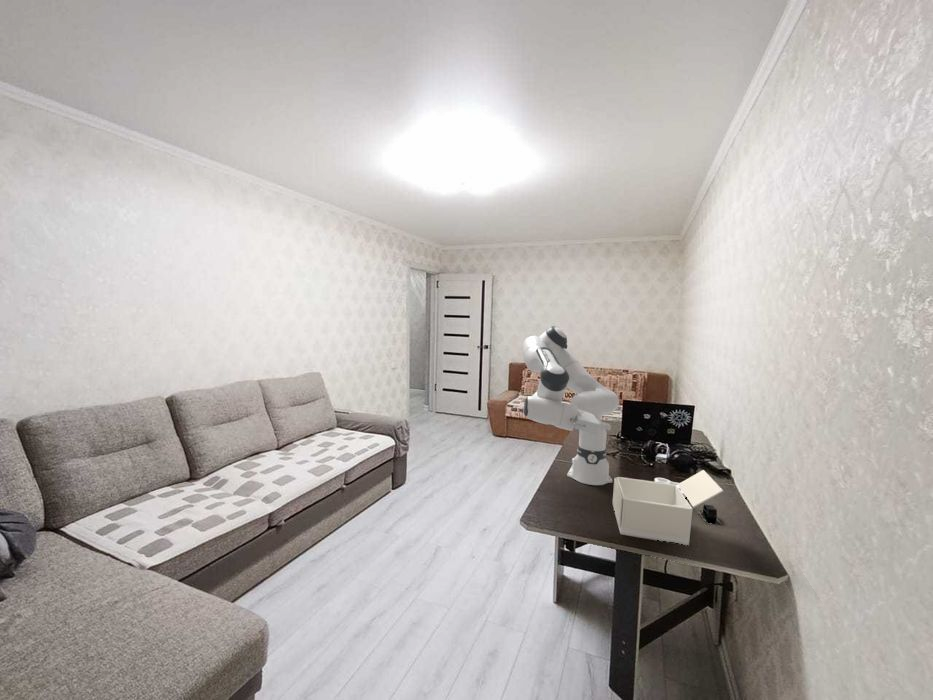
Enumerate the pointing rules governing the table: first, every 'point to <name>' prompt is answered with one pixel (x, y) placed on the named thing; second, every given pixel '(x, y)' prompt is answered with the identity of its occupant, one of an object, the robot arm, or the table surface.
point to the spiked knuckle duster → (667, 483)
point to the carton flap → (699, 488)
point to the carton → (651, 510)
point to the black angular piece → (710, 514)
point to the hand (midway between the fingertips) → (610, 427)
